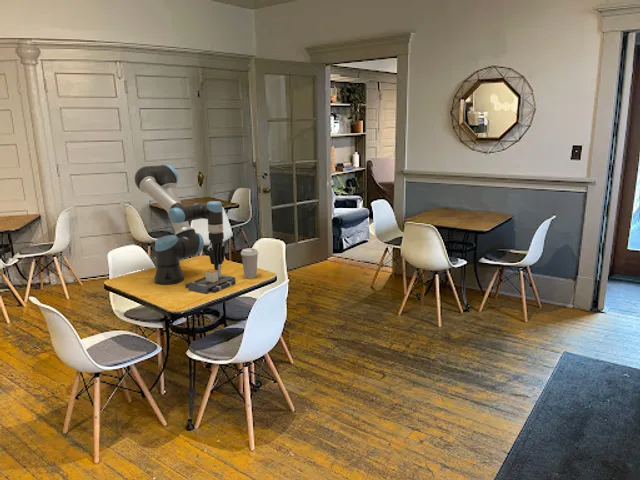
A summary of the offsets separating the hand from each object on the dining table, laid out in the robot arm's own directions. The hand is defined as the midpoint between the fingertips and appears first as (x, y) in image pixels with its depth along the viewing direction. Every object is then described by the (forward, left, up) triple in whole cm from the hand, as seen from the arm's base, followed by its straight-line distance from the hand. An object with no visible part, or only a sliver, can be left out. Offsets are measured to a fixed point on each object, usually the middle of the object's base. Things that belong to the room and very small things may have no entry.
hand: (218, 276), depth 253 cm
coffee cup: (+8, +17, -4) cm, 19 cm away
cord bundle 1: (-8, -5, -4) cm, 10 cm away
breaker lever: (0, -5, -1) cm, 5 cm away
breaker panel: (0, -5, -4) cm, 6 cm away
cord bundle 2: (+8, -5, -4) cm, 10 cm away
